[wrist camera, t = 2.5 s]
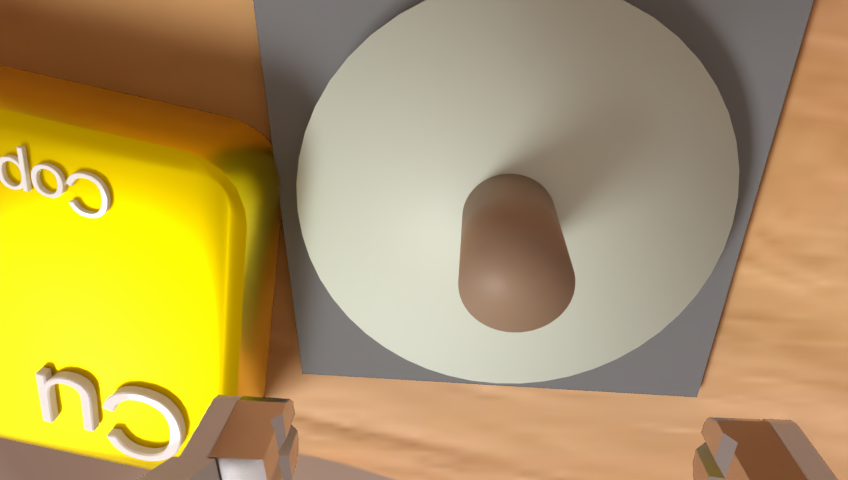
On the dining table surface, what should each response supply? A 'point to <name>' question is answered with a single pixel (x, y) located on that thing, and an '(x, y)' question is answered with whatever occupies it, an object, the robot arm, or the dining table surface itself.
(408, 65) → the lid
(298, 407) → the dining table surface
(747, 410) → the dining table surface
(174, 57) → the dining table surface
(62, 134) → the element tile
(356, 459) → the dining table surface
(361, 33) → the mat
